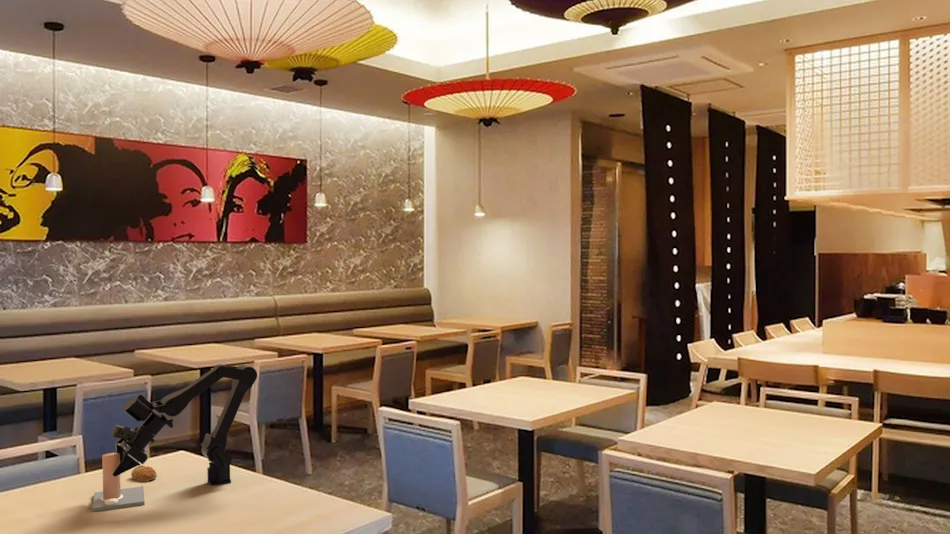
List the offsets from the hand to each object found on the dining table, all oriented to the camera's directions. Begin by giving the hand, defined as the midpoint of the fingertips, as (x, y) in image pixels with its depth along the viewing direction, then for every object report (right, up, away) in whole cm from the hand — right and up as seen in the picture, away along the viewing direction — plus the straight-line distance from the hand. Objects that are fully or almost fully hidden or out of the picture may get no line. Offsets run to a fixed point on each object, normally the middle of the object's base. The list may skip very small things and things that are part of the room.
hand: (110, 472), depth 232 cm
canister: (0, -8, 0) cm, 8 cm away
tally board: (+2, -9, +1) cm, 9 cm away
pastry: (0, -9, +24) cm, 26 cm away
